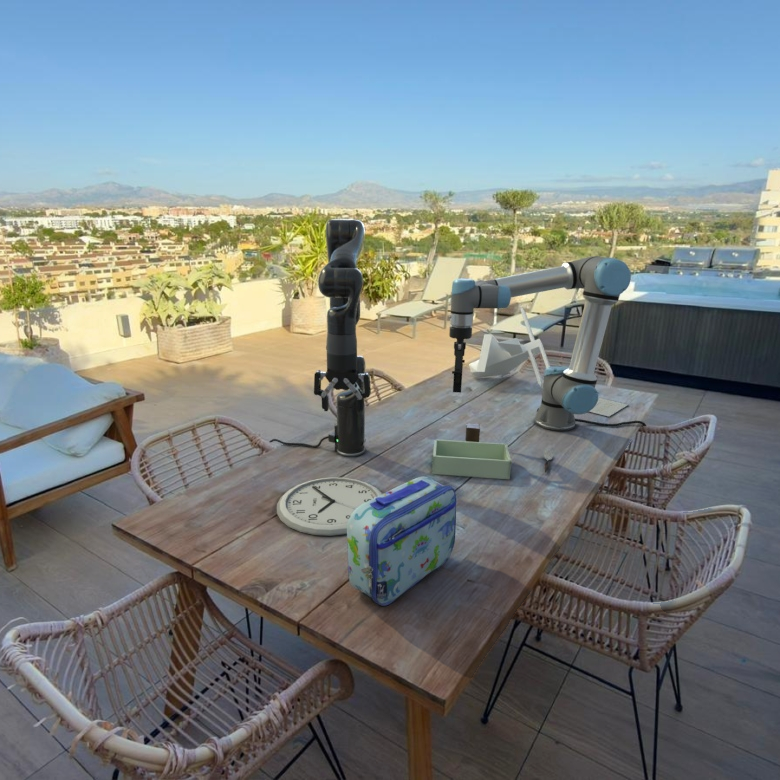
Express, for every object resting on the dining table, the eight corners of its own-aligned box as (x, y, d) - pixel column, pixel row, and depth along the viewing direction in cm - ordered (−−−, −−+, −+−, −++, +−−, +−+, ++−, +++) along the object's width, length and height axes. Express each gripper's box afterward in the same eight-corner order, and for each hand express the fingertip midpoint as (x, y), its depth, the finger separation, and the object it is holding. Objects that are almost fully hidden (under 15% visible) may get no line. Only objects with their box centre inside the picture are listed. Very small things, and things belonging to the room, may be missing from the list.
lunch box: (376, 619, 101) (377, 524, 95) (340, 592, 109) (339, 502, 102) (459, 562, 119) (465, 479, 113) (424, 542, 126) (427, 463, 120)
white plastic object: (490, 419, 265) (470, 397, 240) (471, 347, 287) (451, 319, 262) (561, 395, 253) (548, 369, 228) (536, 321, 275) (521, 290, 250)
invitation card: (608, 416, 214) (573, 407, 224) (608, 416, 214) (573, 408, 224) (628, 404, 229) (594, 396, 238) (628, 405, 229) (594, 397, 238)
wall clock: (392, 527, 129) (268, 531, 127) (391, 533, 130) (269, 537, 127) (383, 473, 158) (282, 475, 155) (383, 478, 158) (282, 480, 156)
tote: (505, 460, 172) (507, 443, 171) (509, 479, 159) (511, 461, 158) (433, 455, 175) (434, 439, 173) (432, 474, 162) (432, 456, 160)
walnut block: (477, 445, 184) (479, 424, 182) (478, 450, 180) (480, 428, 177) (465, 444, 185) (466, 423, 182) (465, 449, 180) (466, 427, 178)
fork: (540, 473, 163) (541, 467, 163) (544, 453, 178) (545, 448, 177) (549, 474, 162) (550, 468, 162) (552, 454, 177) (553, 449, 176)
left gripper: (372, 347, 132) (372, 407, 137) (317, 345, 134) (319, 404, 139) (368, 355, 125) (367, 418, 130) (309, 352, 127) (312, 415, 132)
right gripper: (451, 319, 188) (448, 376, 194) (448, 332, 164) (444, 396, 171) (472, 320, 187) (468, 377, 193) (472, 333, 163) (468, 397, 170)
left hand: (342, 411), depth 135 cm, fingers open, 8 cm apart
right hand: (457, 386), depth 182 cm, fingers open, 13 cm apart
